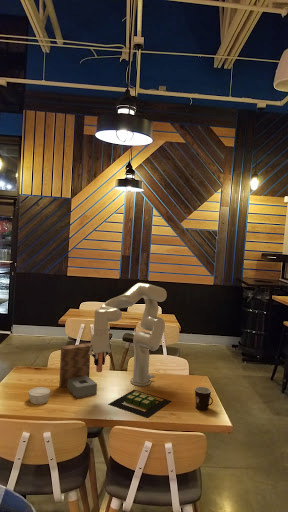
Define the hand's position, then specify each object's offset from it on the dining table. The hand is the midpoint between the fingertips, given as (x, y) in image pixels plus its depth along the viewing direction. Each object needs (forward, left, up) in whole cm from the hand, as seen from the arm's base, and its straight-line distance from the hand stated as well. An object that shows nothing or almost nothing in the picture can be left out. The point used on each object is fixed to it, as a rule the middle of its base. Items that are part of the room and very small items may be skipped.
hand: (99, 364), depth 206 cm
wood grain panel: (+4, -22, -19) cm, 29 cm away
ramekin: (+29, -12, -19) cm, 37 cm away
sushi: (-18, +15, -20) cm, 31 cm away
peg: (0, 0, -4) cm, 4 cm away
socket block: (+4, -13, -19) cm, 23 cm away
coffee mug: (-44, +37, -19) cm, 60 cm away
